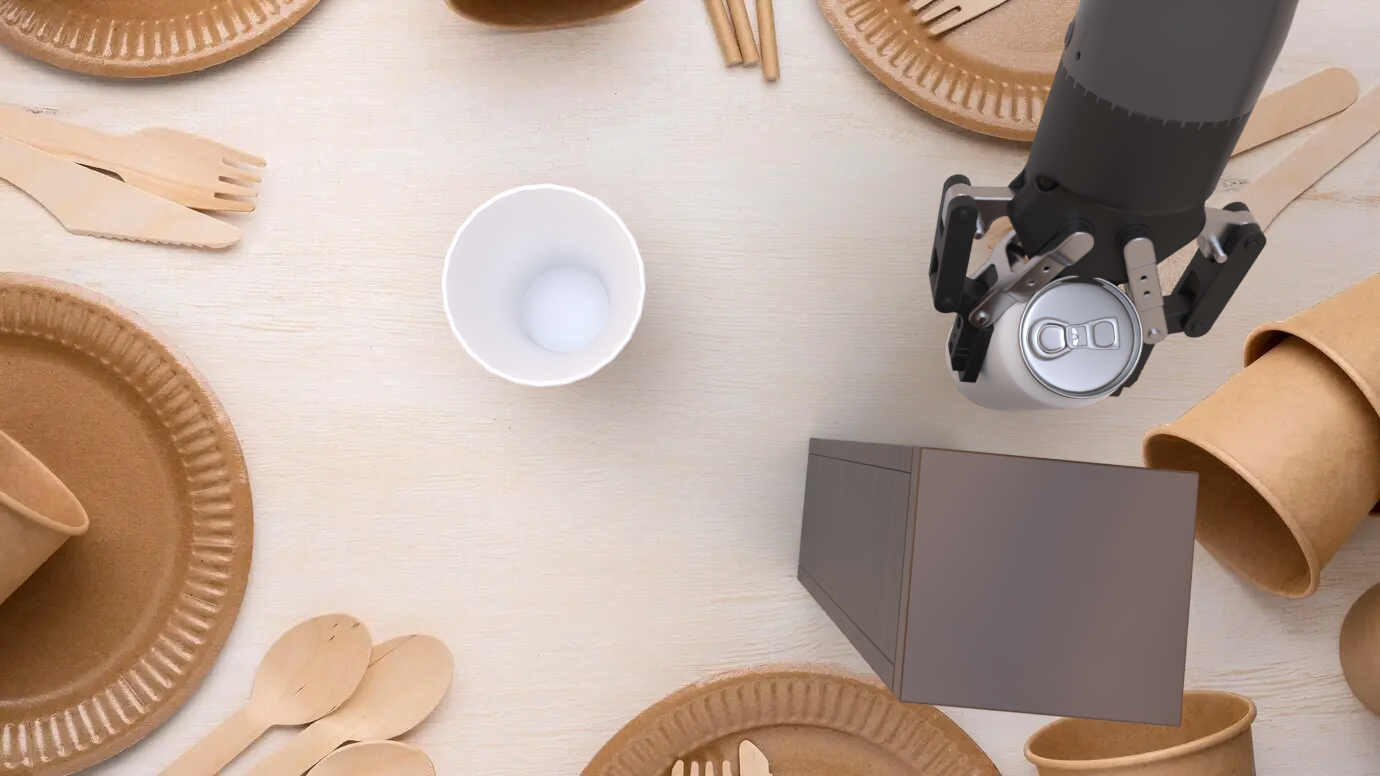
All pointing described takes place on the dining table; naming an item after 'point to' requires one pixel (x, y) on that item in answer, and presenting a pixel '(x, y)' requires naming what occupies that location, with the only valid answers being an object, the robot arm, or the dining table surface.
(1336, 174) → the dining table surface
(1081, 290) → the can
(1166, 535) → the shelf
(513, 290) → the cup
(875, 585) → the shelf frame
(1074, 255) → the robot arm
